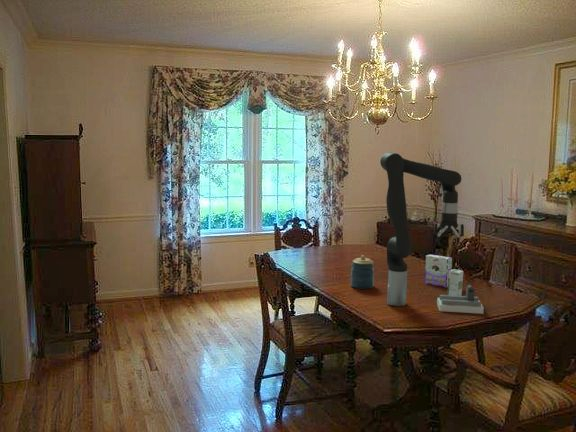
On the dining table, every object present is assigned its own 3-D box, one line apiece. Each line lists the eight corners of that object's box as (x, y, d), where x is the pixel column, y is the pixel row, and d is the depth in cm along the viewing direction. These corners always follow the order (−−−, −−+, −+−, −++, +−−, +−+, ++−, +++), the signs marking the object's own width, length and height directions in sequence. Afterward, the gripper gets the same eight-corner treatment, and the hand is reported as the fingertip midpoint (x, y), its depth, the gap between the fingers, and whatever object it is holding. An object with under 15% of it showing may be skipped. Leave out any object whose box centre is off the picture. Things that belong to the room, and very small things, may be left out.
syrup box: (451, 295, 277) (452, 268, 275) (462, 297, 273) (463, 270, 271) (446, 298, 272) (448, 270, 270) (457, 300, 269) (459, 272, 267)
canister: (357, 281, 303) (358, 251, 300) (377, 285, 295) (378, 254, 293) (346, 286, 292) (347, 255, 290) (367, 290, 285) (368, 258, 282)
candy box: (451, 285, 296) (452, 257, 293) (446, 288, 291) (447, 259, 289) (428, 281, 305) (430, 253, 303) (423, 283, 301) (425, 255, 298)
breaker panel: (439, 311, 251) (440, 300, 250) (436, 303, 263) (437, 293, 262) (483, 313, 248) (484, 303, 247) (478, 306, 259) (479, 296, 259)
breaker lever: (467, 303, 252) (468, 287, 251) (465, 300, 257) (466, 284, 256) (473, 304, 251) (474, 287, 250) (471, 301, 256) (472, 284, 255)
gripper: (463, 211, 260) (461, 243, 262) (433, 210, 262) (432, 242, 265) (465, 213, 253) (464, 246, 255) (435, 212, 255) (433, 245, 257)
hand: (447, 244), depth 260 cm, fingers open, 8 cm apart
